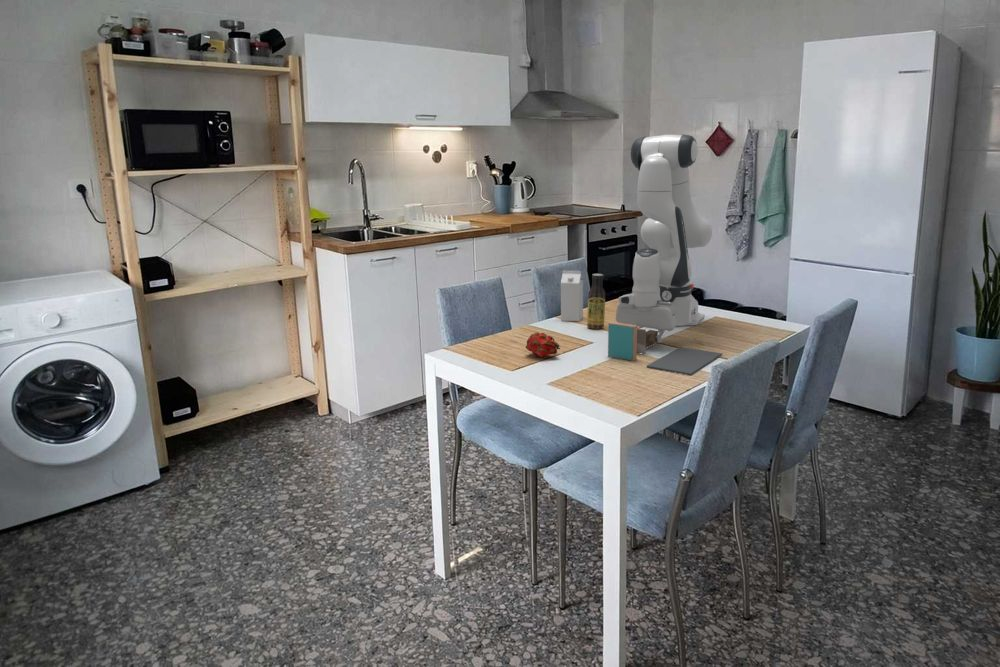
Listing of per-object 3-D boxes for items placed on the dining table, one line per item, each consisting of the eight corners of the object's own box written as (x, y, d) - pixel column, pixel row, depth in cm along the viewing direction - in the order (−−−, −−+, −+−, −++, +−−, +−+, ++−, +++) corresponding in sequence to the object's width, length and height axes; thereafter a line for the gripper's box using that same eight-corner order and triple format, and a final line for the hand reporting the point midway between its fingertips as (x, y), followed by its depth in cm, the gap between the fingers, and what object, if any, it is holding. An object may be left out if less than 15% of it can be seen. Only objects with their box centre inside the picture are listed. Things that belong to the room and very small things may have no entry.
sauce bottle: (586, 329, 256) (587, 276, 251) (587, 325, 262) (587, 272, 257) (605, 329, 255) (605, 275, 250) (605, 325, 261) (605, 272, 256)
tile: (611, 354, 225) (611, 321, 223) (636, 359, 220) (637, 325, 217) (607, 356, 224) (607, 323, 221) (633, 361, 218) (633, 326, 215)
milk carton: (565, 316, 277) (564, 268, 272) (583, 317, 274) (582, 269, 269) (561, 321, 270) (560, 272, 265) (579, 321, 268) (579, 272, 263)
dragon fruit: (526, 357, 231) (557, 367, 225) (516, 348, 224) (548, 359, 218) (536, 334, 233) (567, 344, 227) (526, 324, 225) (559, 334, 219)
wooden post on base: (642, 340, 241) (643, 317, 239) (664, 343, 236) (665, 320, 234) (621, 350, 230) (621, 327, 228) (643, 354, 225) (644, 330, 223)
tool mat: (680, 348, 230) (680, 346, 230) (722, 355, 221) (722, 353, 221) (646, 367, 212) (646, 365, 211) (690, 375, 203) (690, 373, 203)
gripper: (679, 300, 226) (678, 342, 229) (623, 294, 238) (622, 333, 242) (671, 304, 221) (669, 346, 225) (614, 297, 234) (613, 337, 237)
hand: (644, 339), depth 233 cm, fingers open, 8 cm apart
